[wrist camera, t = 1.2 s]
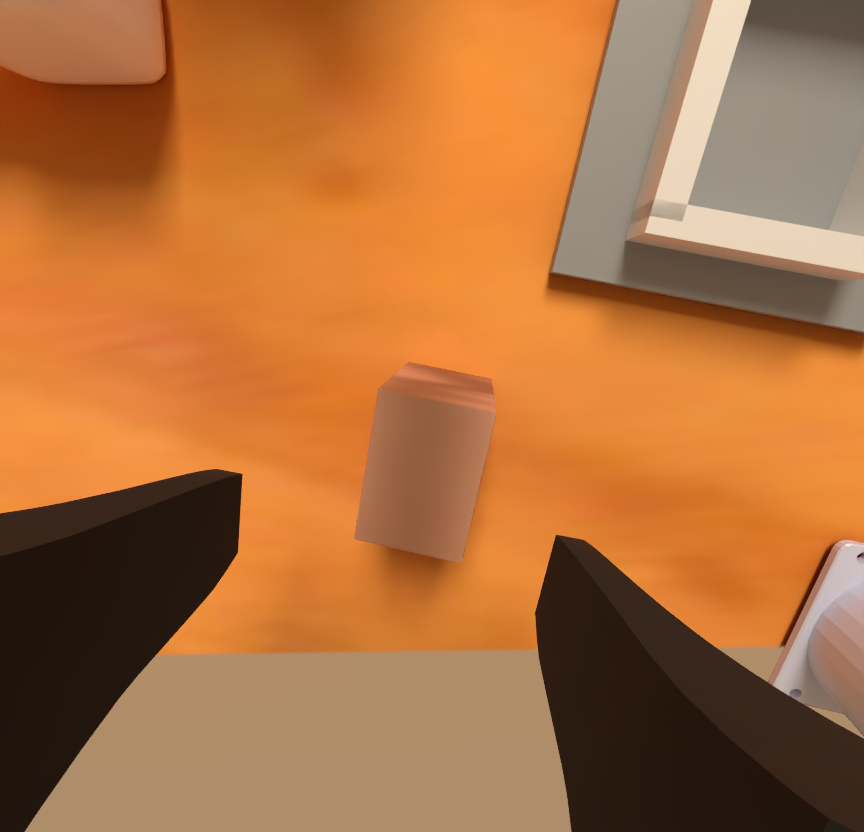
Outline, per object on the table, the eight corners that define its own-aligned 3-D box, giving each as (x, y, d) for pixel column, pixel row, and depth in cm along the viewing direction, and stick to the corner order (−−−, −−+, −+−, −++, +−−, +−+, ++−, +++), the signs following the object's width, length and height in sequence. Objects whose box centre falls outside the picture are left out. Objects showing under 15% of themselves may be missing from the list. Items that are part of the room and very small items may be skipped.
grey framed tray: (1040, -59, 14) (1177, -146, 11) (867, 334, 17) (941, 340, 14) (645, -117, 14) (683, -214, 12) (549, 272, 18) (561, 268, 15)
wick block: (491, 378, 19) (496, 413, 13) (466, 488, 20) (461, 563, 14) (409, 362, 19) (378, 388, 13) (390, 471, 20) (354, 538, 15)
